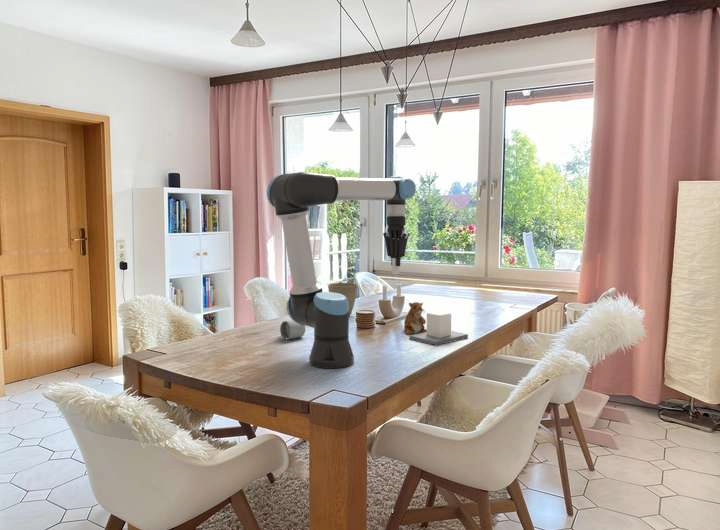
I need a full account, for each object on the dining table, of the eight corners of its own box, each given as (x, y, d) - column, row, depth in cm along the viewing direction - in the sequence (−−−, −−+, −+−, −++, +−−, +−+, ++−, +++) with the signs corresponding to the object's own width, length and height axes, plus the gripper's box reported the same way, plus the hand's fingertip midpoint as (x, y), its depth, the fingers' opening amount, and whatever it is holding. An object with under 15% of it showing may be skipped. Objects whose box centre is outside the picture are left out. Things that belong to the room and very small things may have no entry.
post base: (435, 345, 201) (435, 326, 200) (409, 339, 212) (409, 320, 211) (467, 337, 214) (468, 319, 213) (441, 332, 225) (441, 315, 224)
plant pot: (331, 312, 270) (331, 282, 269) (359, 313, 268) (359, 282, 267) (325, 318, 256) (325, 286, 254) (355, 319, 254) (355, 286, 252)
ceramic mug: (306, 338, 214) (306, 319, 213) (290, 341, 208) (289, 322, 207) (291, 334, 221) (291, 316, 221) (275, 337, 216) (275, 319, 215)
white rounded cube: (439, 337, 208) (439, 315, 207) (426, 334, 213) (426, 313, 212) (450, 335, 212) (451, 313, 212) (437, 332, 218) (438, 311, 217)
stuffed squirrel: (407, 335, 219) (407, 304, 217) (398, 328, 232) (398, 299, 231) (429, 334, 221) (430, 303, 219) (419, 327, 234) (419, 298, 233)
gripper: (414, 215, 207) (413, 274, 209) (391, 215, 217) (391, 272, 219) (400, 215, 202) (400, 276, 204) (378, 215, 212) (378, 273, 214)
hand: (395, 274), depth 211 cm, fingers closed
